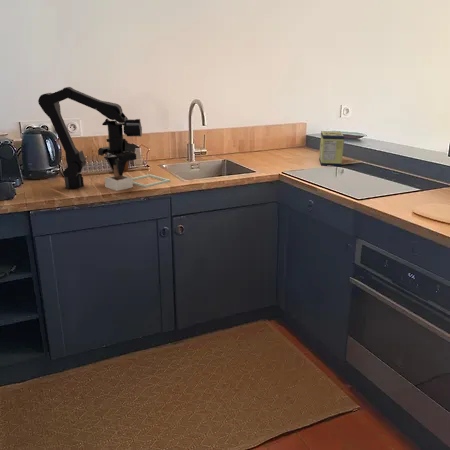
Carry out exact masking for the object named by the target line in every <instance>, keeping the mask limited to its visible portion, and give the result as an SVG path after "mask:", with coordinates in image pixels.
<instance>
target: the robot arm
mask: <svg viewBox="0 0 450 450" xmlns="http://www.w3.org/2000/svg"><path fill="white" fill-rule="evenodd" d="M67 99H69V100H71V101H74V102H76V103H79V104H81V105H84V106H86V107H88V108H90V109H93V110H95V111H97V112H98V113H100V114H101V115H102V116H103V117H105V121H103V122H102V126H107V135H108V138H106V142H107V143H108V146H104V147H99V148H98V150H97V153H98V156H102V157H103V158H104V159H105V161H106V162H107V164H108V165H109V167H110V169H111V170H112V172H113V173H114V168H113V165H115V164H116V166H117V169H118V172H119V175H120V176H121V175H124V173H123V171H124V168H125V165H126V162H127V161H129V162H130V161H135V160H137V153H135V152H136V149H137V145H136V144H133V143H130V142H128V140H126V138H124V135H126V137H137V138H138V137H142V135H143V126H142V123H141V119H140V118H136V119H128V117H127V116H126V114H124V112H123V108H122V106H121V105H120V104H118V103H116V102H111V101H105V100H100V99H98V98H96V97H93V96H92V95H89V94H86V93H84V92H81V91H79V90H76V89H74V88H73V87H71V86H66V87H63V88H62V89H60V90H57V91H54V92H45V93H43V94H41V95H39V98H38V100H37V102H38V105H39V106H40V108H41V110H42V111H43V112H44V114H45V115H46V116H47V117H48V118H49V119H50V121H51V123H52V124H51V125H52V126H53V128H54V131H55V132H56V134H57V136H58V140H59V141H60V143H61V146H62V148H63V150H64V153H65V161H66V168H65V169H64V170H63V171H62V175H63V177H64V186H65V189H67V190H78V189H81V188H83V187H84V186H85V185H84V177H83V174H82V170H83V169H84V168H85V167H86V165H87V162H86V161H87V158H86V157H85V155H84V151H83V150H80V151H79V150H78V149H77V148H76V145H75V143H74V141H73V138H72V136H71V134H70V132H69V130H68V127H67V125H66V123H65V120H64V119H63V116H62V111H61V104H60V102H62V101H64V100H67ZM127 151H128V152H127ZM104 155H105V156H104Z"/></svg>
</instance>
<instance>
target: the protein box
mask: <svg viewBox="0 0 450 450" xmlns="http://www.w3.org/2000/svg"><path fill="white" fill-rule="evenodd" d="M344 142H345V135H344V134H343V133H342V132H341V131H331V130H330V131H329V130H328V131H327V130H326V131H325V130H324V131H323V130H321V132H320V143H319V153H318V155H319V157H318V161H319V163H320V165H321V166H322V167H328V166H327V165H334V166H333V167H342V163H343V153H344V145H345V143H344Z"/></svg>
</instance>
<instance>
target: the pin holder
mask: <svg viewBox="0 0 450 450" xmlns="http://www.w3.org/2000/svg"><path fill="white" fill-rule="evenodd" d="M132 178H133V177H131V176H129V175H128V176H127V175H124V174H123V179H120V180H115V179H114V175H111V176H107V177H104V186H105V188H107V189H109V190H112V191H116V192H118V191H122V190H123V191H124V190H127V189H131V188H133V185H134V184H133V181H134V180H133V181H132Z"/></svg>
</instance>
